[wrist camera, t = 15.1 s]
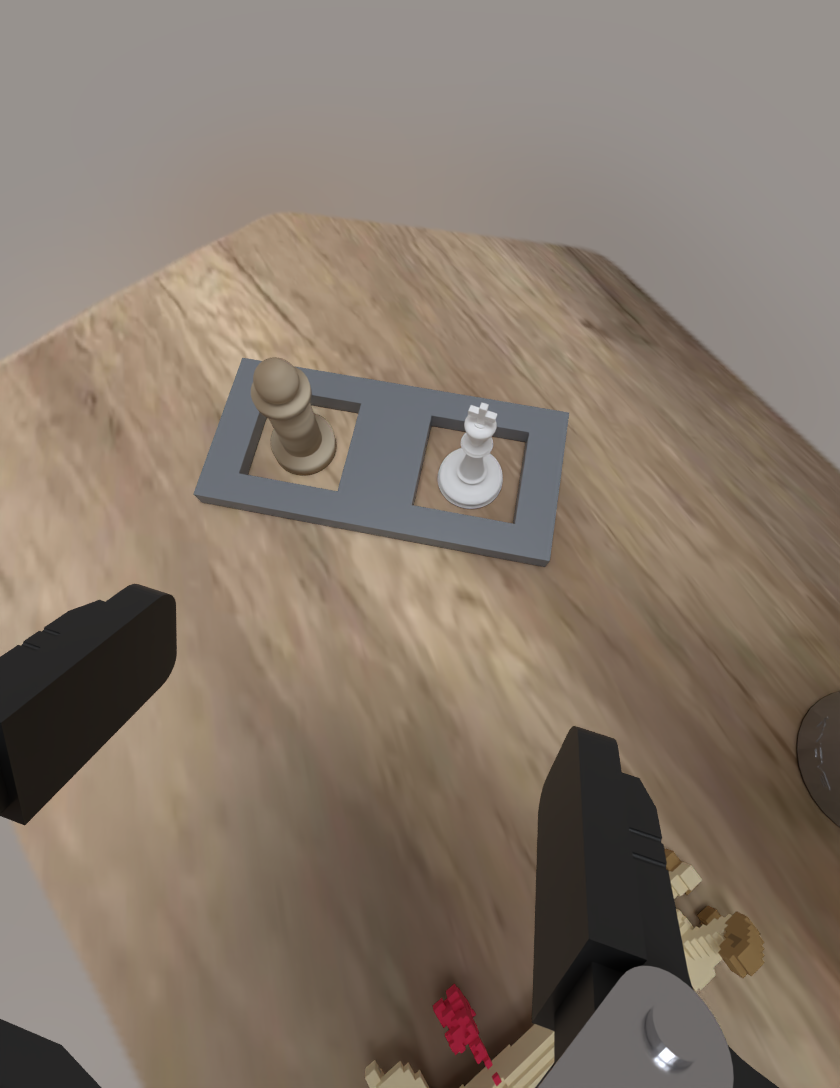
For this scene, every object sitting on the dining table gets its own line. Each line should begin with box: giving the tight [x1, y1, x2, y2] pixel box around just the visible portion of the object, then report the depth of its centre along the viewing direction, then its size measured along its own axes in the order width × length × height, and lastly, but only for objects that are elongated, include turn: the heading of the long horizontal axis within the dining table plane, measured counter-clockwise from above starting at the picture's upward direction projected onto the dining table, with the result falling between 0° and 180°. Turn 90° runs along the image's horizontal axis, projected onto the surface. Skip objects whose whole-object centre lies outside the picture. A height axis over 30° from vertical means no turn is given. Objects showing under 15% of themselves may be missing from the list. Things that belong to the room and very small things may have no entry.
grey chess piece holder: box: [194, 358, 569, 567], centre depth 41 cm, size 26×12×2 cm, turn 79°
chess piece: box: [438, 403, 503, 509], centre depth 36 cm, size 5×5×10 cm
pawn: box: [251, 358, 336, 475], centre depth 37 cm, size 5×5×10 cm
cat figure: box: [365, 849, 765, 1088], centre depth 26 cm, size 10×9×25 cm
